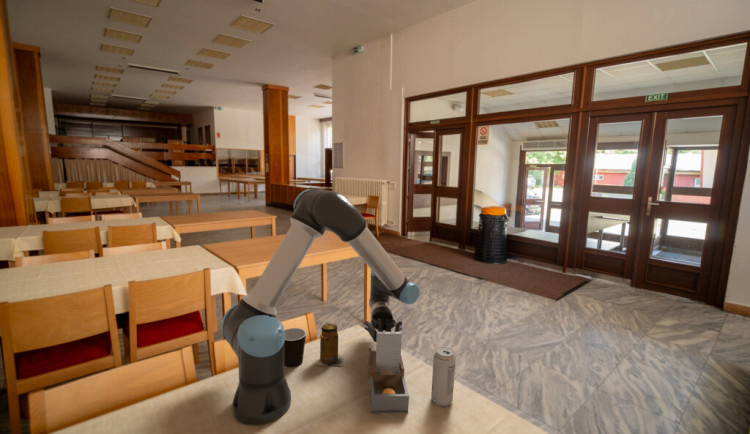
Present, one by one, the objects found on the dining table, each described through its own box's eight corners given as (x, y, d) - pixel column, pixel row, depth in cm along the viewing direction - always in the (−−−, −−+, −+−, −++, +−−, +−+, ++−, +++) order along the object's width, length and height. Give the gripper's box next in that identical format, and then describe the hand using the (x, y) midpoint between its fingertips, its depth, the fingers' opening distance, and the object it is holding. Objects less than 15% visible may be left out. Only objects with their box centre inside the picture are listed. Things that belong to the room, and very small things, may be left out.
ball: (380, 405, 93) (380, 388, 95) (382, 403, 97) (382, 387, 98) (395, 405, 92) (394, 389, 94) (397, 403, 96) (396, 387, 98)
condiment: (321, 353, 121) (321, 321, 119) (345, 355, 121) (346, 322, 119) (316, 365, 114) (317, 331, 112) (342, 366, 114) (343, 332, 112)
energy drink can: (436, 391, 103) (439, 343, 101) (455, 399, 99) (459, 350, 97) (427, 401, 98) (430, 352, 96) (447, 410, 94) (450, 359, 92)
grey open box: (371, 413, 92) (371, 396, 92) (369, 391, 101) (370, 376, 101) (408, 412, 93) (409, 395, 92) (403, 391, 102) (404, 375, 101)
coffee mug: (299, 371, 110) (299, 342, 109) (274, 367, 112) (274, 338, 110) (313, 352, 122) (313, 325, 120) (290, 349, 123) (290, 322, 122)
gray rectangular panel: (375, 375, 99) (377, 333, 97) (375, 372, 100) (376, 331, 98) (399, 374, 99) (401, 333, 98) (399, 372, 101) (401, 331, 99)
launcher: (369, 391, 101) (370, 369, 100) (367, 368, 113) (368, 347, 112) (403, 391, 102) (404, 368, 101) (398, 368, 114) (399, 347, 113)
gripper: (399, 325, 124) (410, 362, 101) (363, 325, 123) (365, 362, 100) (400, 305, 123) (411, 338, 100) (363, 305, 122) (366, 338, 99)
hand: (388, 350), depth 100 cm, fingers closed
